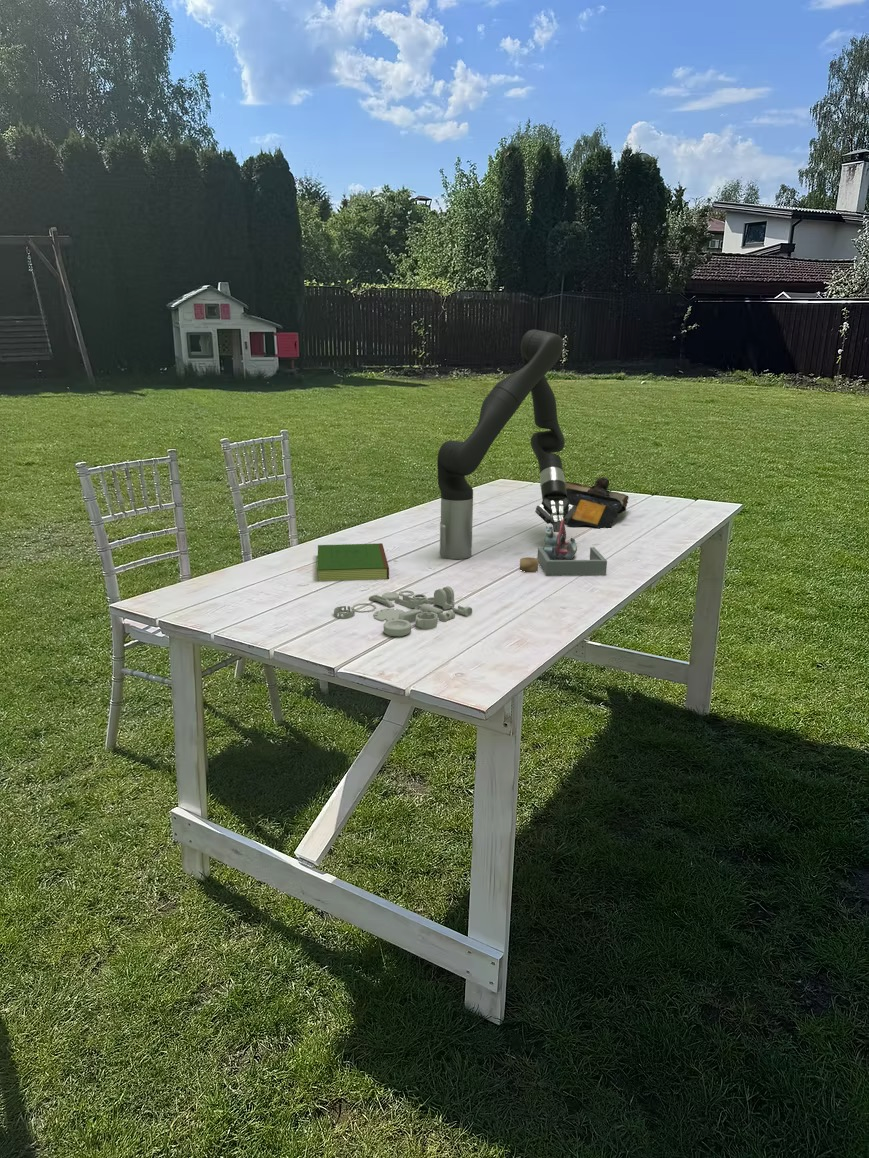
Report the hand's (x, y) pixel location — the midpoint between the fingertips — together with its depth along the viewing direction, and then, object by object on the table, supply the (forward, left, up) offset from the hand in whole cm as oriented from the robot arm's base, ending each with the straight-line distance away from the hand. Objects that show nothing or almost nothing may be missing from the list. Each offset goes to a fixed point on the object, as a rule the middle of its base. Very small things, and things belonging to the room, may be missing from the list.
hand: (559, 534), depth 233 cm
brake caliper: (-1, -5, -5) cm, 8 cm away
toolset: (+18, +48, -6) cm, 52 cm away
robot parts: (-48, -51, -6) cm, 70 cm away
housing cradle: (0, -16, -5) cm, 17 cm away
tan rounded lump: (-12, -18, -5) cm, 22 cm away
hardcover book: (-61, -13, -6) cm, 63 cm away
